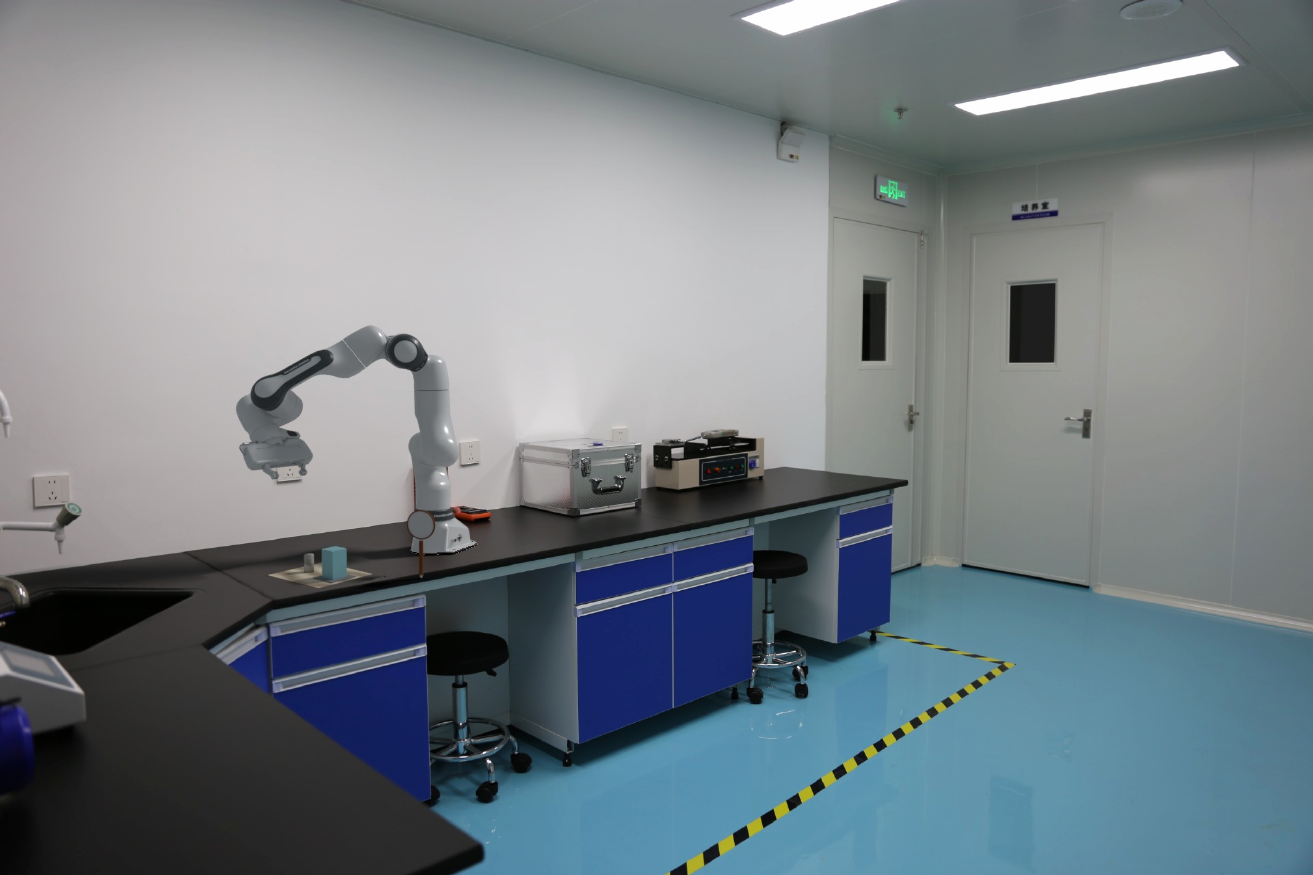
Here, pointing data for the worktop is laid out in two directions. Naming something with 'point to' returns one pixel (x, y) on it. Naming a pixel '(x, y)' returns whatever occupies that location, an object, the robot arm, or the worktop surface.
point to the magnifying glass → (421, 530)
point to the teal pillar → (334, 562)
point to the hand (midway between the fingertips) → (290, 476)
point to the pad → (333, 580)
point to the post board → (312, 573)
